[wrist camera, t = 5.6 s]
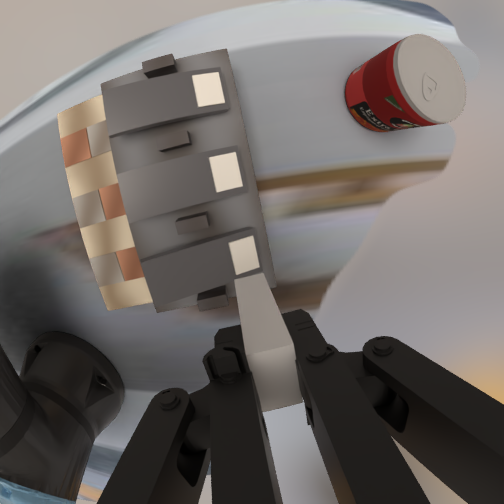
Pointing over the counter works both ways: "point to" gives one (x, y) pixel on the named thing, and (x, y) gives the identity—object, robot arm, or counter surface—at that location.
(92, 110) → the switch unit
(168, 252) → the rocker
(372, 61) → the canned food
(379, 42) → the counter surface
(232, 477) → the robot arm
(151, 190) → the rocker middle
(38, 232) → the counter surface
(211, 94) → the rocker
